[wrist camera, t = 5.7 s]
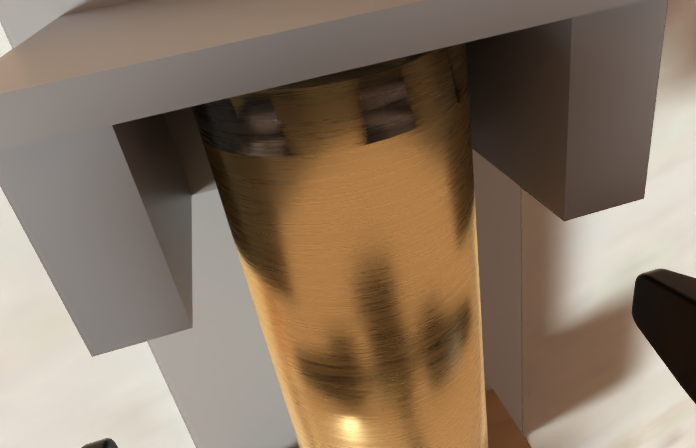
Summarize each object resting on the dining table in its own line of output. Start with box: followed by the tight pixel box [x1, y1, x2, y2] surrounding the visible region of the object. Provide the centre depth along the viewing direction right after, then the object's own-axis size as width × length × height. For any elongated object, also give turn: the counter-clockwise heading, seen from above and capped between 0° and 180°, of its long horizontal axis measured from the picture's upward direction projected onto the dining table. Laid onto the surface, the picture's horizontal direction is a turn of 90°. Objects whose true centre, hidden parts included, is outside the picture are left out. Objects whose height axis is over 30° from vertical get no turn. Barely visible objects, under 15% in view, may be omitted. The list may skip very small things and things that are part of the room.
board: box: [0, 0, 522, 448], centre depth 15 cm, size 19×10×1 cm, turn 10°
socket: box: [0, 0, 668, 357], centre depth 9 cm, size 4×8×6 cm, turn 100°
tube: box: [192, 43, 488, 448], centre depth 12 cm, size 15×4×4 cm, turn 10°
